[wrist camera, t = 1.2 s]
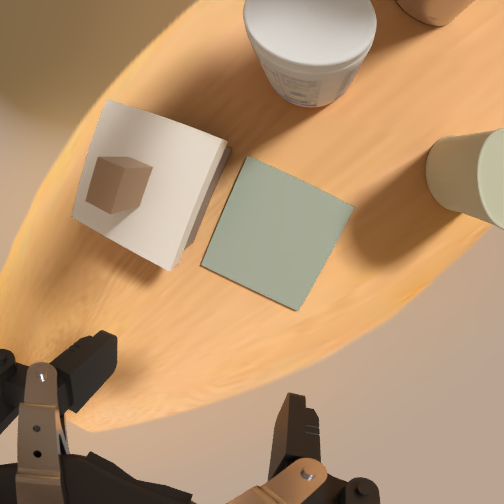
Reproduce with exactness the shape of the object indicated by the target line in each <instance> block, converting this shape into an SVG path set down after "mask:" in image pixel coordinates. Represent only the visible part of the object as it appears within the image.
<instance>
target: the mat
mask: <svg viewBox="0 0 504 504" xmlns="http://www.w3.org/2000/svg"><path fill="white" fill-rule="evenodd" d="M354 208H355V207H353V206H351V205H349V204H348V203H346V202H344V201H342V200H340V199H338V198H336V197H334V196H332V195H330V194H328V193H326V192H324V191H322V190H320V189H318V188H316V187H314V186H312V185H310V184H308V183H306V182H304V181H302V180H300V179H298V178H296V177H294V176H291V175H289V174H287V173H285V172H283V171H281V170H279V169H276V168H274V167H272V166H270V165H268V164H265V163H263V162H261V161H259V160H256V159H254V158H252V157H250V156H247V158H246V160H245V163H244V165H243V167H242V169H241V172H240V174H239V176H238V178H237V181H236V183H235V185H234V188H233V190H232V192H231V194H230V197H229V199H228V201H227V204H226V206H225V208H224V211H223V213H222V215H221V218H220V220H219V223H218V225H217V227H216V230H215V232H214V235H213V237H212V239H211V242H210V244H209V247H208V249H207V252H206V254H205V256H204V259H203V261H202V264H201V265H202V266H204V267H206V268H208V269H210V270H212V271H214V272H216V273H218V274H220V275H222V276H225V277H227V278H229V279H231V280H233V281H235V282H237V283H239V284H241V285H243V286H245V287H247V288H249V289H252V290H254V291H256V292H258V293H260V294H262V295H264V296H266V297H268V298H271V299H273V300H275V301H277V302H279V303H281V304H283V305H286V306H288V307H290V308H292V309H294V310H296V311H299V309H300V307H301V306H302V304H303V302H304V301H305V299H306V297H307V295H308V294H309V292H310V290H311V288H312V287H313V285H314V283H315V281H316V279H317V278H318V276H319V274H320V272H321V270H322V269H323V267H324V265H325V263H326V261H327V259H328V258H329V256H330V254H331V252H332V250H333V248H334V246H335V244H336V243H337V241H338V239H339V237H340V235H341V233H342V231H343V229H344V227H345V225H346V223H347V221H348V219H349V217H350V216H351V214H352V212H353V210H354Z"/></svg>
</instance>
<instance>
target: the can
mask: <svg viewBox="0 0 504 504" xmlns="http://www.w3.org/2000/svg"><path fill="white" fill-rule="evenodd" d="M426 180H427V184H428V187H429V190H430V192H431V194H432V196H433V197H434V199H435V200H436V201H437V202H438V203H439V204H440V205H441V206H442V207H444V208H445V209H447V210H450V211H454V212H460V213H464V214H467V215H469V216H472V217H475V218H478V219H480V220H483V221H486V222H488V223H491V224H493V225H495V226H497V227H499V228H501V229H503V230H504V128H502V129H498V130H495V131H489V132H482V133H475V134H469V135H462V136H447V137H444V138H442V139H440V140H439V141H437V142H436V143H435V144H434V145H433V147H432V148H431V150H430V152H429V154H428V157H427V161H426Z"/></svg>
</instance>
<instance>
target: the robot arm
mask: <svg viewBox="0 0 504 504" xmlns="http://www.w3.org/2000/svg"><path fill="white" fill-rule="evenodd" d="M473 1H474V0H396V2H397V3H398V4H399V5H400V7H401V8H402V9H403V10H404V11H406V12H407V13H408V14H409V15H411V16H412V17H414V18H415V19H417V20H419V21H421V22H423V23H426V24H428V25H433V26H444V25H447V24H448V23H450V22H451V21H452V20H453V19H454V18H455V17H456V16H458V15H459V14H460V13H461V12H462V11H463V10H464V9H465V8H467V7H468V6H469V5H470V4H471V3H472V2H473ZM116 365H117V337H116V336H115V335H113V334H110V333H108V332H106V331H104V330H101V331H99V332H98V333H97V334H96V335H95V336H93V337H92V336H87V337H84V338H81V339H79V340H78V341H77V342H76V343H74V345H72V346H70V347H69V348H68V349H67V350H65V351H64V352H63V353H62V354H60V355H59V356H58V357H57V358H55V359H54V360H53V361H52V362H50V363H49V364H48V363H44V362H38V363H34V364H32V365H31V366H30V367H29V366H26V365H22V364H20V363H17V362H16V361H15V357H14V354H13V353H12V352H11V351H9V350H6V349H0V434H1V433H2V432H3V431H4V430H5V429H6V428H7V427H8V425H9V424H10V423H11V422H12V421H13V420H14V419H15V418H16V417H17V416H18V415H19V417H18V439H17V440H18V443H17V454H18V456H17V459H18V463H11V464H4V465H0V504H196V503H194V502H193V501H191V498H192V494H190V493H187V492H183V491H181V490H177V489H175V488H171V487H169V486H166V485H161V484H155V483H149V482H144V481H140V480H136V479H134V478H133V477H131V476H130V475H128V474H127V473H126V472H124V471H123V470H122V469H120V468H119V467H118V466H116V465H115V464H114V463H112V462H110V461H108V460H106V459H104V458H102V457H100V456H98V455H97V454H94V453H93V452H89V454H88V455H87V456H82V455H75V454H70V452H69V447H68V440H67V430H66V417H65V412H66V411H67V410H68V409H69V410H71V411H73V412H75V413H77V412H78V411H79V410H80V409H81V408H82V407H83V406H84V405H85V403H86V402H87V401H88V400H89V399H90V398H91V397H92V396H93V395H94V393H95V392H96V391H97V390H98V389H99V388H100V387H101V386H102V385H103V384H104V382H105V381H106V380H107V379H108V378H109V377H110V376H111V375H112V374H113V372H114V371H115V368H116ZM305 404H306V400H305V396H303V395H298V394H293V393H288V394H287V396H286V398H285V401H284V403H283V405H282V408H281V410H280V412H279V414H278V417H277V420H276V423H275V427H274V436H273V443H272V451H271V459H270V467H269V474H268V482H266V483H265V484H264V485H262V486H260V487H259V486H255V487H252V488H251V489H249V490H247V491H246V492H244V493H243V494H241V495H240V496H238V497H236V498H235V499H233V500H231V501H230V502H228V503H226V504H380V497H379V489H378V487H377V486H376V484H375V483H374V482H373V481H371V480H369V479H366V478H362V477H360V478H359V477H358V478H354V479H352V480H350V481H349V482H346V481H344V480H340V479H338V478H335V477H333V476H331V475H329V474H328V473H327V470H326V468H325V466H324V465H323V464H322V463H321V456H320V436H319V434H320V433H319V418H318V416H317V414H316V412H315V411H314V409H310V408H306V405H305Z"/></svg>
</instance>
